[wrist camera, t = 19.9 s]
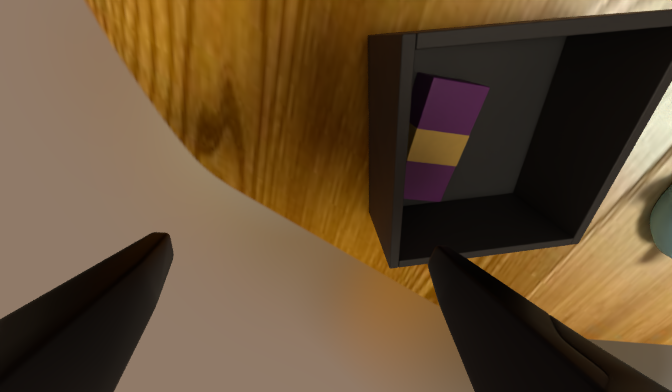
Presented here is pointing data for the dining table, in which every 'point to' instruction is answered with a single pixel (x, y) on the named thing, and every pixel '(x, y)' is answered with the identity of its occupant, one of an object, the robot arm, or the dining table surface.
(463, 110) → the chocolate bar
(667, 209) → the teakettle
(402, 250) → the waste bin
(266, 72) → the dining table surface
